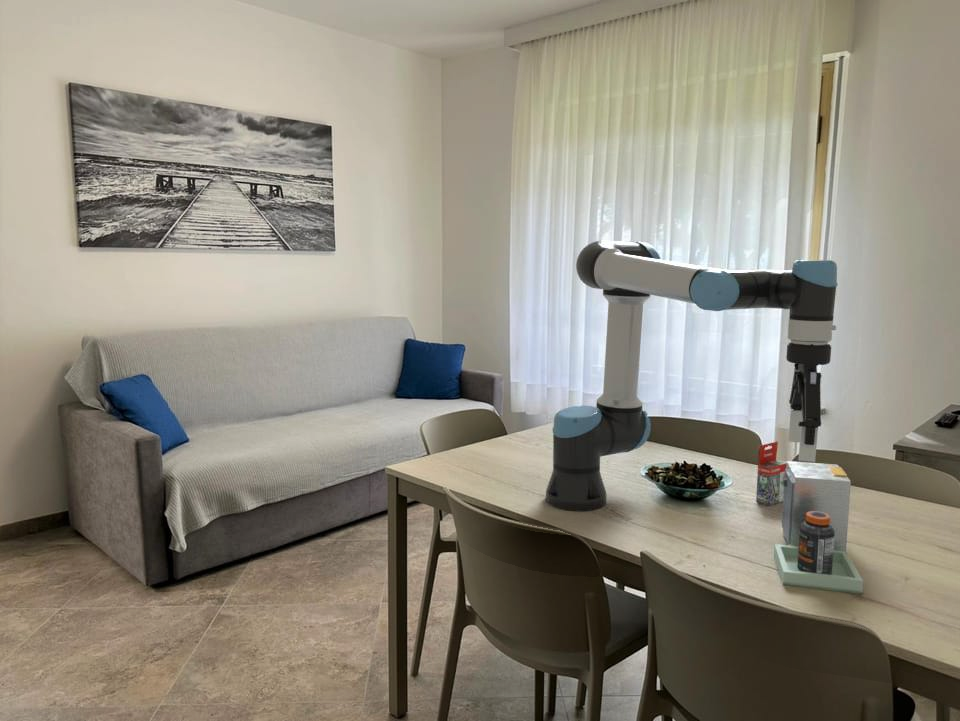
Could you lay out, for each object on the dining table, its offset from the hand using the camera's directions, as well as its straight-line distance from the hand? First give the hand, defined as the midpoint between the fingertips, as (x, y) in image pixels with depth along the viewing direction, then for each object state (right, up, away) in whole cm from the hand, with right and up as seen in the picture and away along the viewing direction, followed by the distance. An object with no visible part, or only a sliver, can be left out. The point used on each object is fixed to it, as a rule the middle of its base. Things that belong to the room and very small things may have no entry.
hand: (800, 451), depth 129 cm
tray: (+2, -23, -2) cm, 23 cm away
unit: (+8, -21, +11) cm, 25 cm away
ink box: (+11, -18, +37) cm, 43 cm away
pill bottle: (+1, -23, -2) cm, 23 cm away
